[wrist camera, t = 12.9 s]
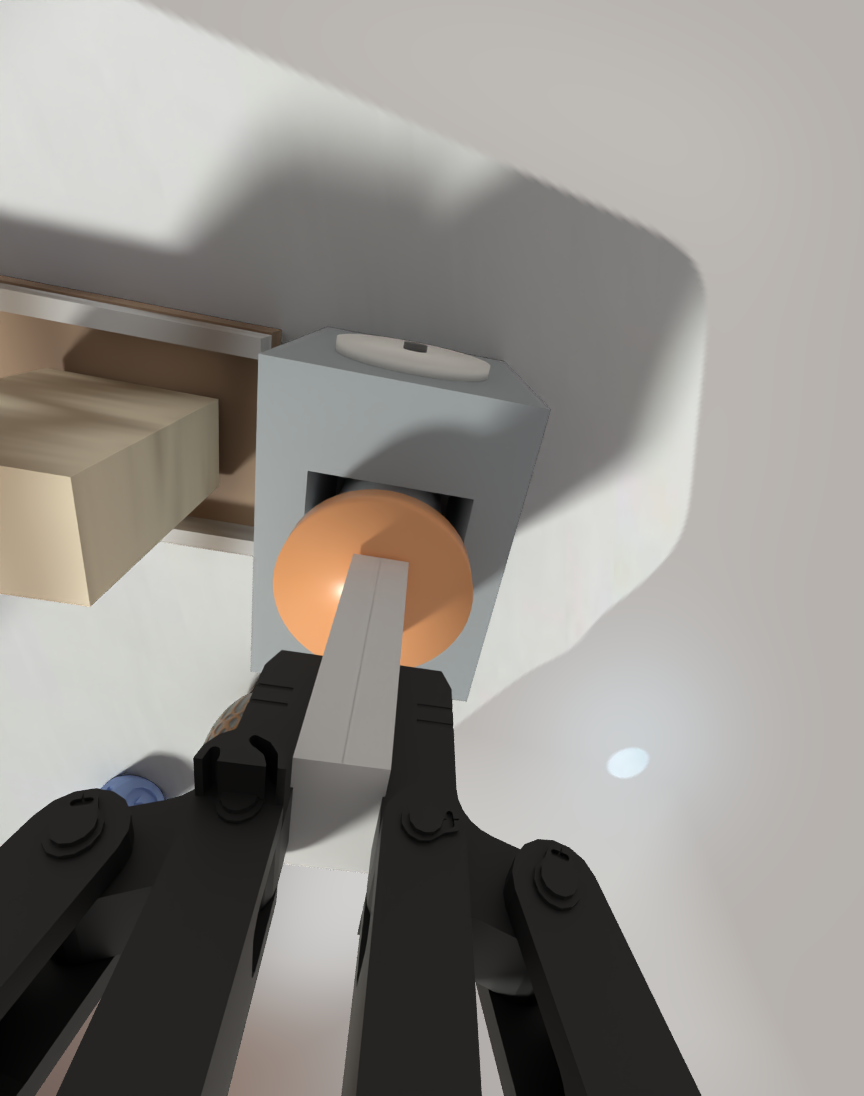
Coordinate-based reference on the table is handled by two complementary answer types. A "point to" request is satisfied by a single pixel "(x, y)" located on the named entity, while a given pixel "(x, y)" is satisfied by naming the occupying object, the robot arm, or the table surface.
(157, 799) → the decorative dice
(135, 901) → the robot arm
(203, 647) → the table surface
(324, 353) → the cabinet
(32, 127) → the table surface
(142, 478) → the beige wooden block
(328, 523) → the plunger
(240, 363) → the rail board
